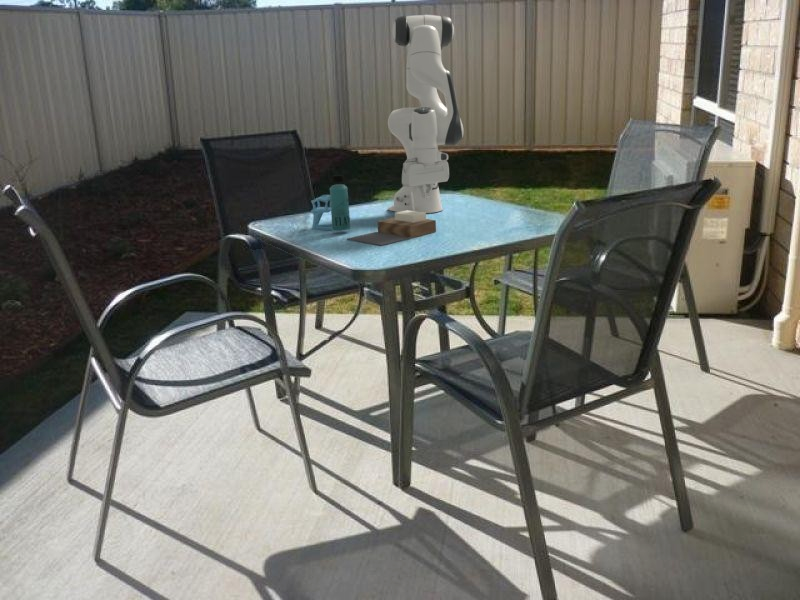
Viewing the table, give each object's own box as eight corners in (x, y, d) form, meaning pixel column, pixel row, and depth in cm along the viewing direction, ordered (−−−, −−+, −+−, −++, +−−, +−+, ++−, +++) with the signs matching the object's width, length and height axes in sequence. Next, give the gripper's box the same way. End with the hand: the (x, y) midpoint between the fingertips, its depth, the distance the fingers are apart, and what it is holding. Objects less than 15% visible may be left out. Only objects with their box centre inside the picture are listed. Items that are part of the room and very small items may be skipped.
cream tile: (395, 219, 282) (394, 213, 281) (407, 217, 286) (407, 210, 285) (413, 222, 276) (413, 215, 275) (426, 219, 280) (425, 212, 279)
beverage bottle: (333, 235, 282) (329, 176, 276) (331, 231, 288) (326, 174, 282) (352, 233, 283) (348, 175, 277) (349, 230, 289) (345, 173, 284)
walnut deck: (378, 232, 282) (377, 221, 281) (403, 226, 290) (402, 215, 289) (410, 238, 271) (410, 226, 270) (436, 231, 279) (435, 220, 278)
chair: (317, 226, 300) (314, 193, 296) (338, 226, 298) (336, 192, 294) (309, 230, 293) (306, 196, 289) (331, 230, 290) (328, 196, 287)
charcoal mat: (347, 239, 274) (346, 238, 274) (375, 232, 282) (375, 231, 282) (381, 245, 262) (381, 244, 262) (410, 238, 270) (410, 237, 270)
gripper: (410, 159, 271) (411, 201, 274) (451, 154, 285) (452, 194, 288) (396, 159, 275) (398, 200, 279) (438, 154, 289) (439, 193, 293)
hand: (426, 197), depth 284 cm, fingers closed
